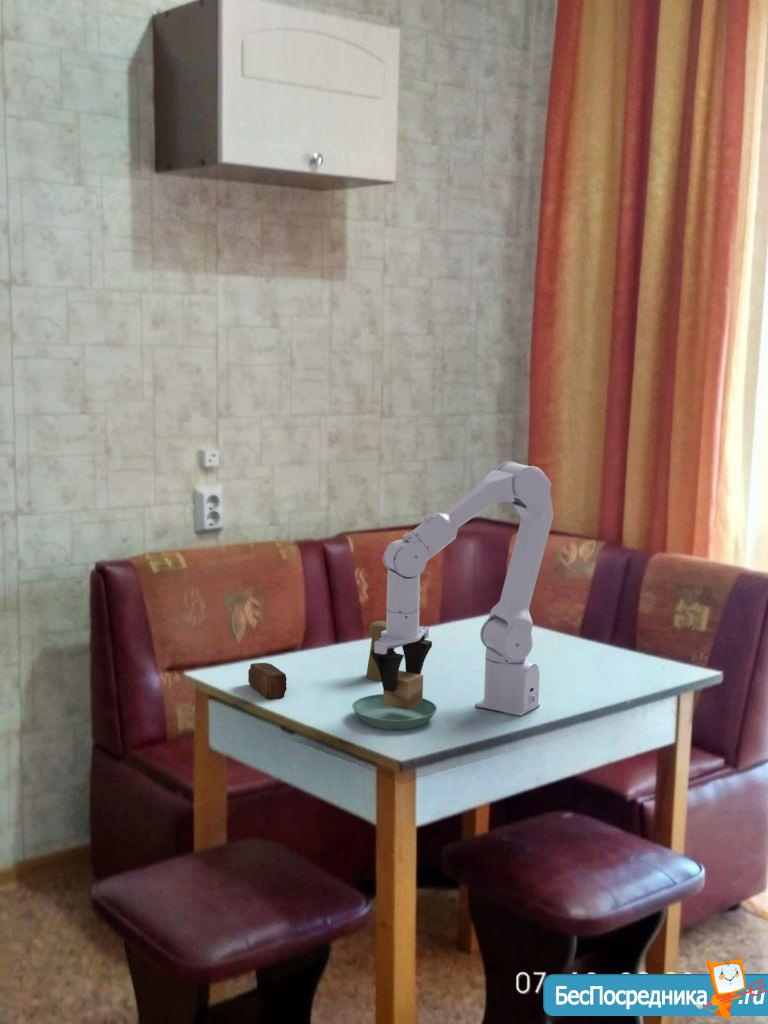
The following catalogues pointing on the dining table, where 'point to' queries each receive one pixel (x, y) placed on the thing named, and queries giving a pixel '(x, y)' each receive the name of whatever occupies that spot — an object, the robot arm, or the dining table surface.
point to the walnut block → (405, 691)
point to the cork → (375, 635)
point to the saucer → (392, 713)
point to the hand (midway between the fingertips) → (401, 685)
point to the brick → (267, 680)
